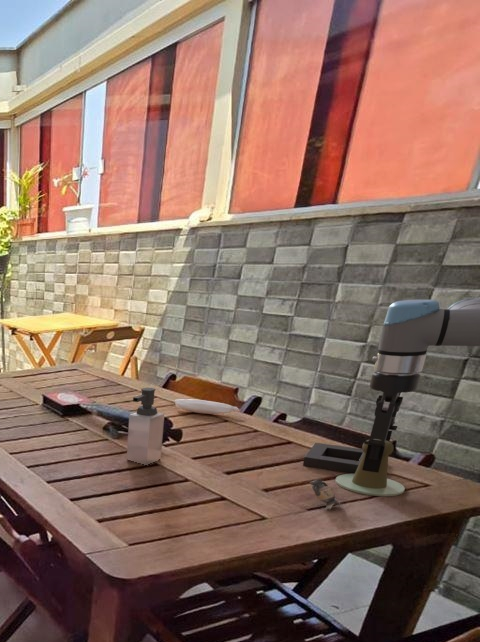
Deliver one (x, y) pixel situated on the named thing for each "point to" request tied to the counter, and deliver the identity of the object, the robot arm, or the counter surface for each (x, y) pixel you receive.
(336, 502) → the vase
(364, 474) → the cork
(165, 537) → the counter surface
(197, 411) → the white tapered cylinder
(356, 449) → the frame
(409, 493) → the counter surface
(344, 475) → the coaster
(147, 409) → the soap dispenser
